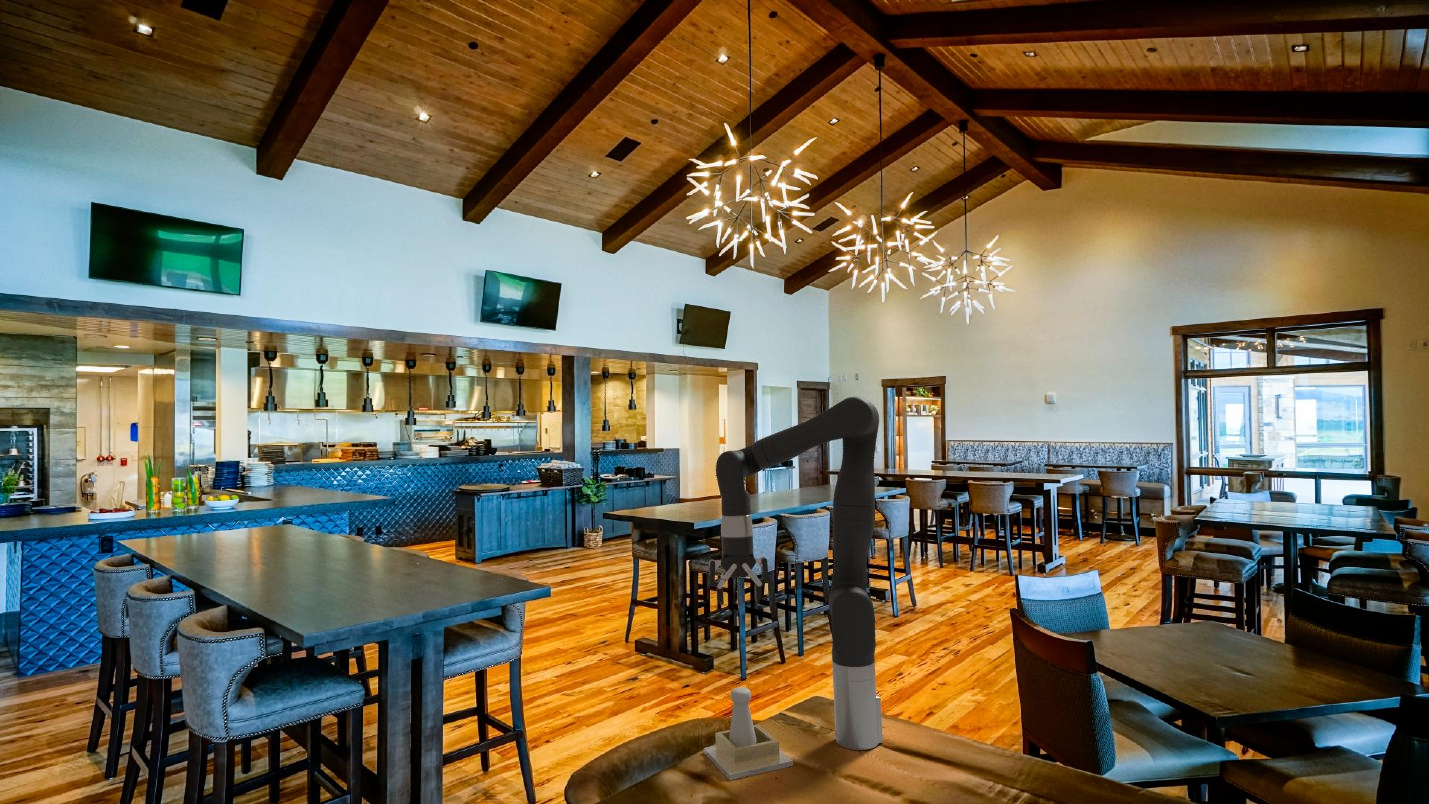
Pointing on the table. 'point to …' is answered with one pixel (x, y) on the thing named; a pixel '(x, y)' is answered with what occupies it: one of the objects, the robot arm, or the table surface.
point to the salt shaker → (741, 719)
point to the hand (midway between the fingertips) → (739, 603)
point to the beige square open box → (747, 755)
